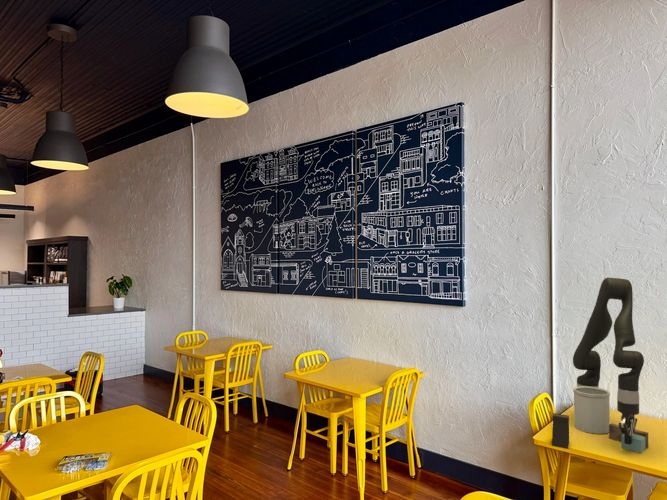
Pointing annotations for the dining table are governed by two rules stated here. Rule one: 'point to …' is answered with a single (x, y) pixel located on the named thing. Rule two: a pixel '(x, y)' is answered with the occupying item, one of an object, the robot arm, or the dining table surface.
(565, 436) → the phone stand
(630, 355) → the robot arm
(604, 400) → the utensil holder
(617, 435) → the walnut board
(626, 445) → the teal block
